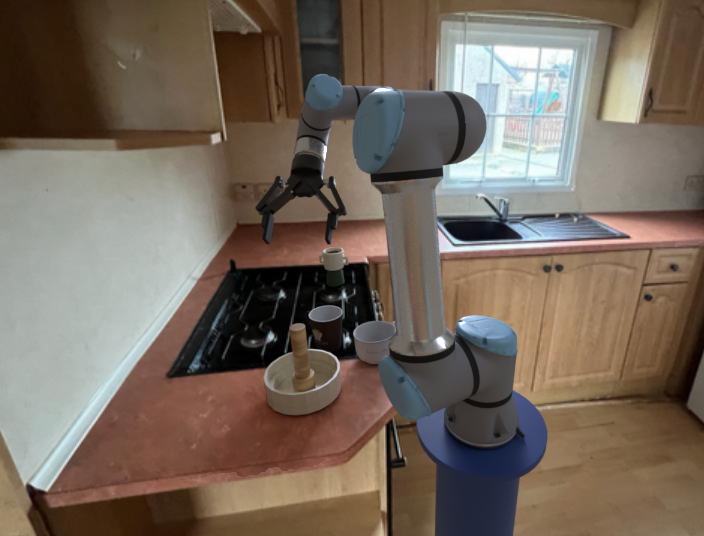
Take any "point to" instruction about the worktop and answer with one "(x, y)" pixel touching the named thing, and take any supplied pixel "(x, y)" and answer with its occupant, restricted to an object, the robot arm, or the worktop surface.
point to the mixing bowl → (309, 401)
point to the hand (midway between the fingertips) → (296, 241)
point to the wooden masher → (301, 360)
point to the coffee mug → (326, 327)
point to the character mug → (334, 265)
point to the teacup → (373, 340)
